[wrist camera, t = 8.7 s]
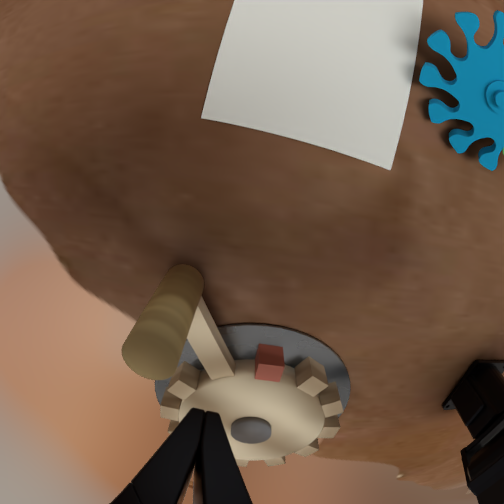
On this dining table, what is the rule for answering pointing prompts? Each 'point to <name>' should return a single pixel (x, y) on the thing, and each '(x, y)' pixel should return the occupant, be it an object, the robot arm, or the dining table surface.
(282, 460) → the index wheel
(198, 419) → the robot arm
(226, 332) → the wheel base
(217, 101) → the mat
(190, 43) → the dining table surface
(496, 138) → the gear
